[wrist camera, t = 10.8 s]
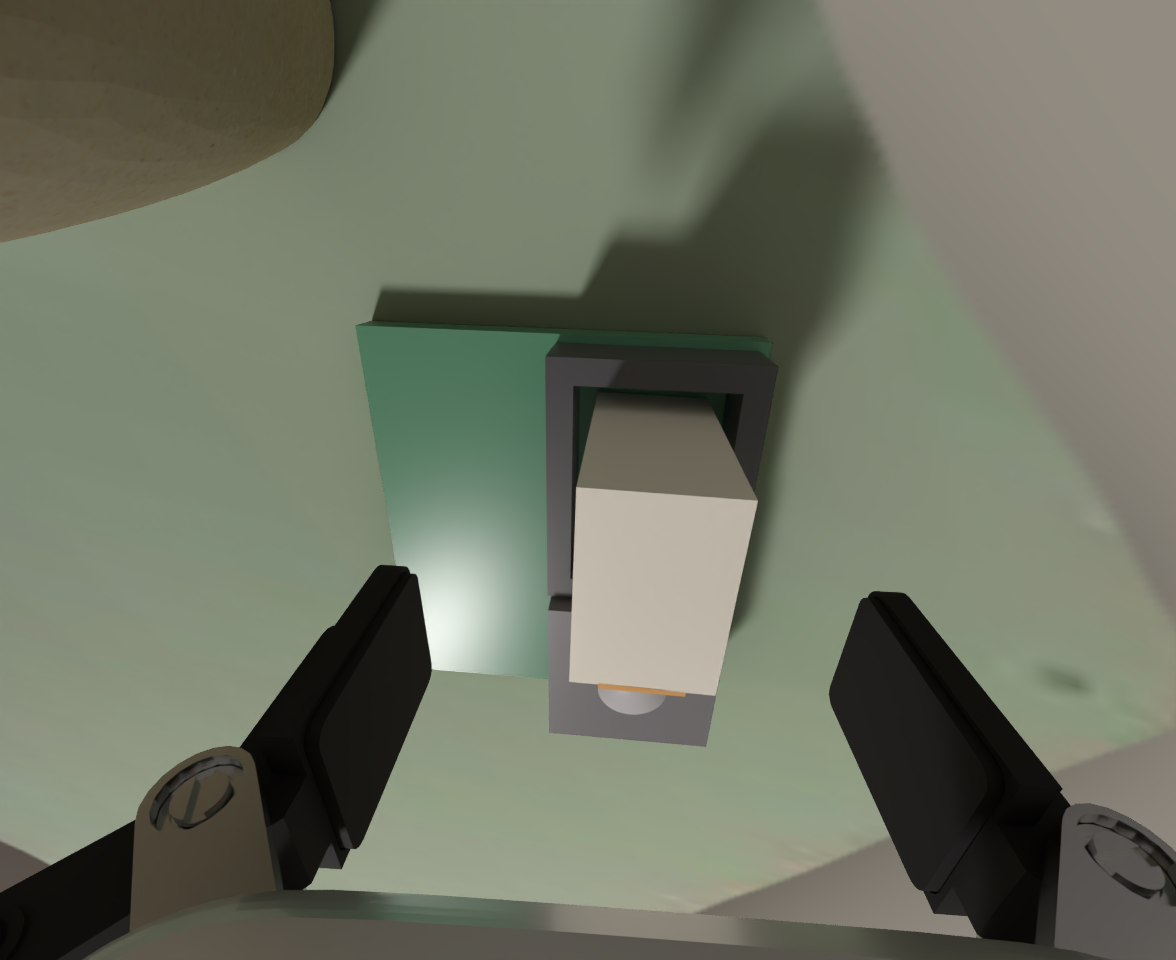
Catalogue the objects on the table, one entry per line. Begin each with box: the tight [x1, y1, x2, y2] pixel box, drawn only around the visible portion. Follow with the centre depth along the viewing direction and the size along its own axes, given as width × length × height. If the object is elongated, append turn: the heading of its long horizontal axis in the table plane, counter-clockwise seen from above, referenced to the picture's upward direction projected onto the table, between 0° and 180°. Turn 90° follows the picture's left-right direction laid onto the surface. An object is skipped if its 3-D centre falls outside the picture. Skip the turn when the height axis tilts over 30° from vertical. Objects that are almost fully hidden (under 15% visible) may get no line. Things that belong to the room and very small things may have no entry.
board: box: [356, 321, 778, 679], centre depth 21 cm, size 17×15×4 cm
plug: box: [569, 392, 758, 697], centre depth 16 cm, size 6×4×8 cm, turn 178°
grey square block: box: [548, 596, 720, 747], centre depth 22 cm, size 7×7×3 cm
